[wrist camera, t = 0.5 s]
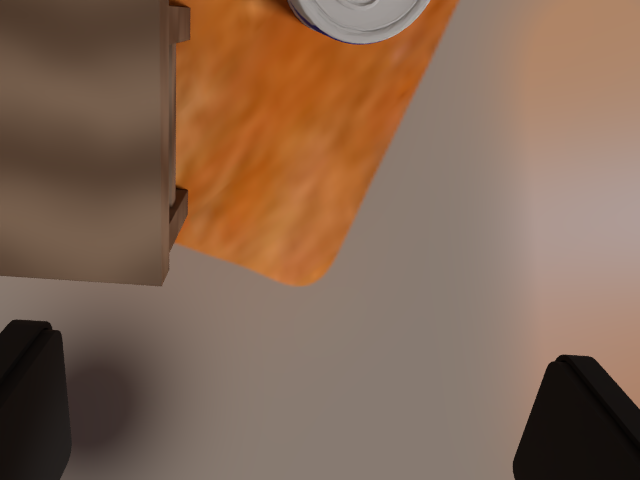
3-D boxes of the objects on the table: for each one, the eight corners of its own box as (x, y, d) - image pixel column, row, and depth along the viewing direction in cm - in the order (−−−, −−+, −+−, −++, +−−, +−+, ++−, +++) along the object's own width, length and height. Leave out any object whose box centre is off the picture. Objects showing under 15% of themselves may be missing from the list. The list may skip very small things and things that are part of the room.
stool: (-52, -28, 30) (-200, -46, 21) (195, 3, 31) (159, -2, 22) (-18, 202, 35) (-123, 267, 26) (191, 218, 37) (161, 286, 28)
